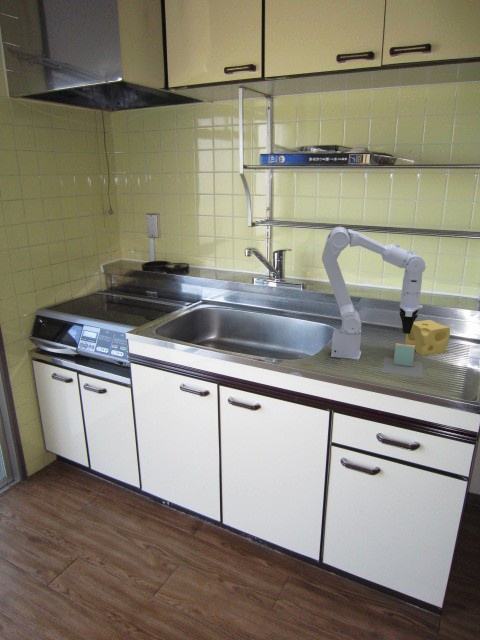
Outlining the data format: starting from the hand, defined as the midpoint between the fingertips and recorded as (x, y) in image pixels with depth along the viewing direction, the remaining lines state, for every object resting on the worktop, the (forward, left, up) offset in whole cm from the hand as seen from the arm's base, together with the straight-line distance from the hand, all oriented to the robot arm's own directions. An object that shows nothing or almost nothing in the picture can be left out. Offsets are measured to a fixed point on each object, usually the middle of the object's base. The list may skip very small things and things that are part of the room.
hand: (406, 331), depth 153 cm
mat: (0, -9, -10) cm, 13 cm away
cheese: (+7, +11, -10) cm, 17 cm away
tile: (0, -7, -9) cm, 12 cm away
